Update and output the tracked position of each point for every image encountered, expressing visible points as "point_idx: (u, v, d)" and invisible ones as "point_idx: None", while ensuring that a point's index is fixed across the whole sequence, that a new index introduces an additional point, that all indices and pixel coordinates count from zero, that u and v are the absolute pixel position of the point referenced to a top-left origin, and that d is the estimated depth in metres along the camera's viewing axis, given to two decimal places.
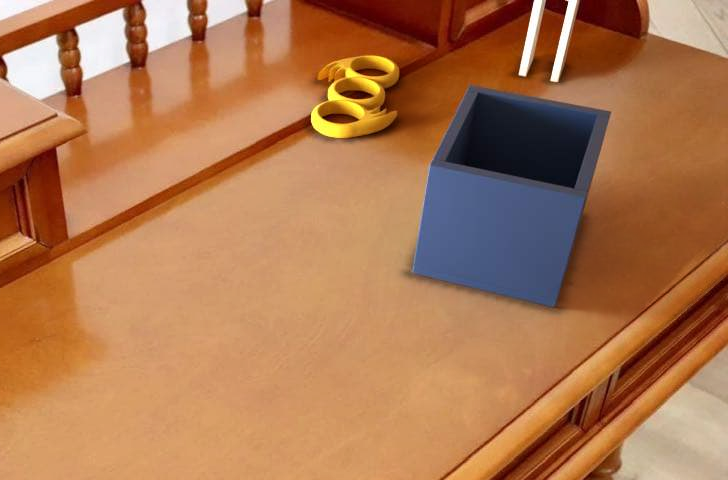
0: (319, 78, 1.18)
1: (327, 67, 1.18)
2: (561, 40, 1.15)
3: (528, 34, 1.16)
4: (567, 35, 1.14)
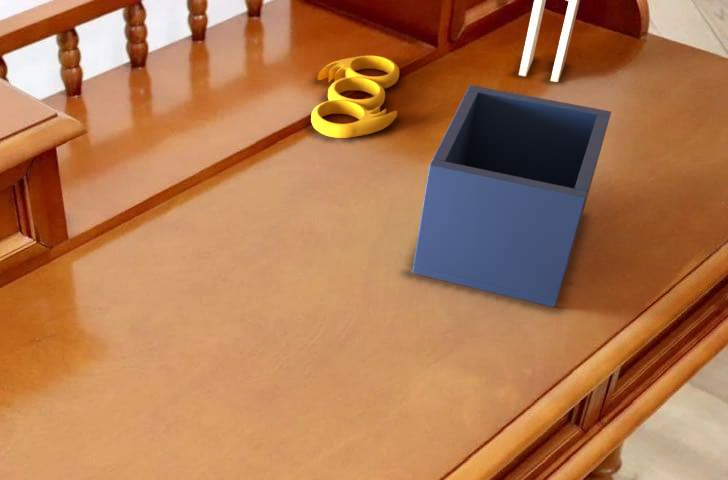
0: (319, 78, 1.18)
1: (327, 67, 1.18)
2: (561, 40, 1.15)
3: (528, 34, 1.16)
4: (567, 35, 1.14)
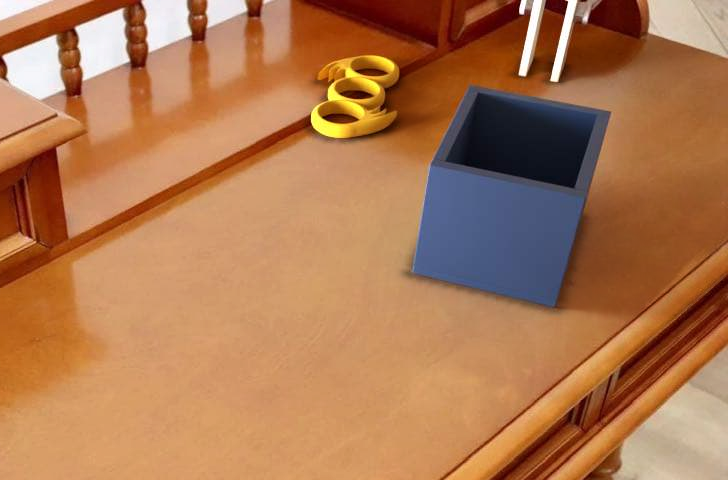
0: (319, 78, 1.18)
1: (327, 67, 1.18)
2: (561, 40, 1.15)
3: (528, 34, 1.16)
4: (567, 35, 1.14)
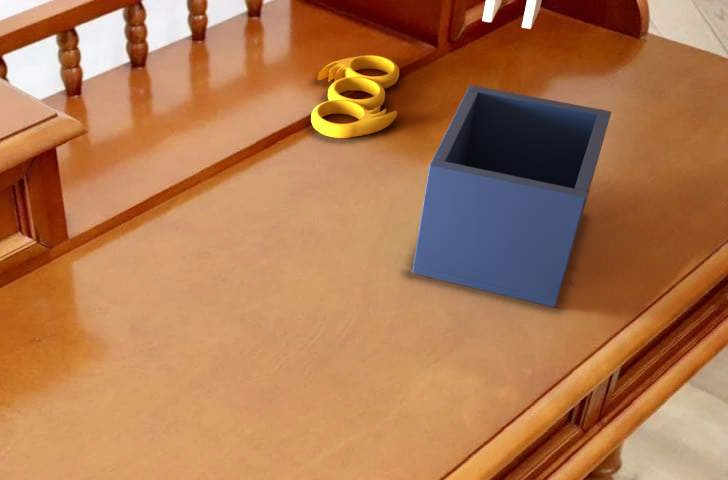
0: (319, 78, 1.18)
1: (327, 67, 1.18)
2: None
3: None
4: None
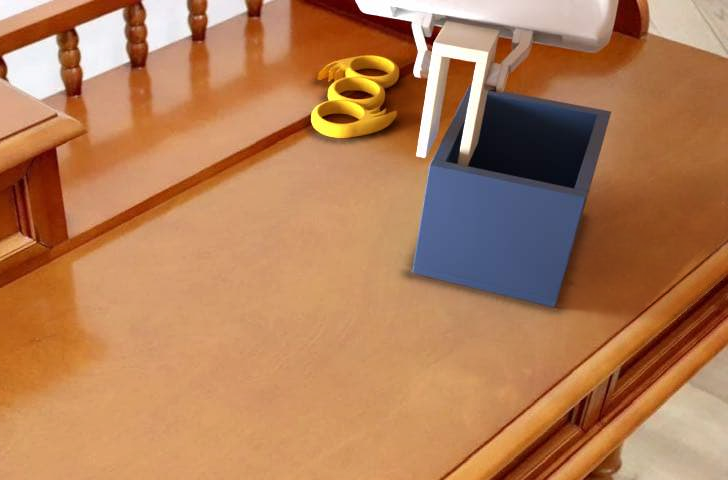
0: (319, 78, 1.18)
1: (327, 67, 1.18)
2: (469, 113, 0.85)
3: (425, 104, 0.86)
4: (476, 107, 0.85)
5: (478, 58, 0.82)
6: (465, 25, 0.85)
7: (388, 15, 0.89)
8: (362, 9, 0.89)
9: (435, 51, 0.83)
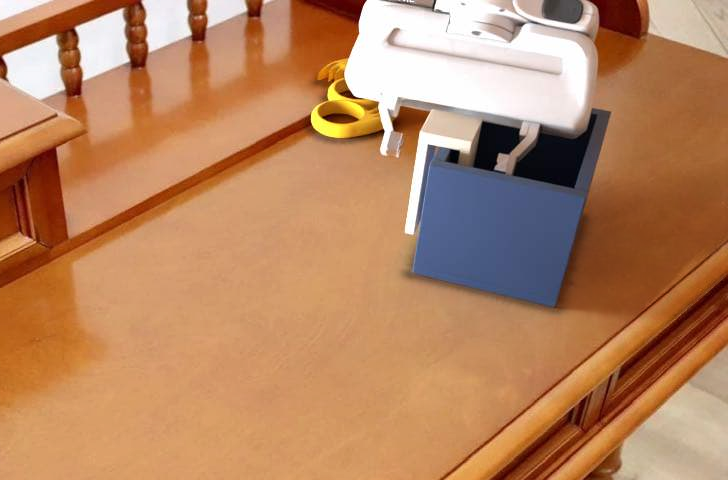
0: (319, 78, 1.18)
1: (327, 67, 1.18)
2: None
3: (413, 187, 0.91)
4: None
5: (462, 147, 0.87)
6: (450, 113, 0.90)
7: (379, 100, 0.94)
8: (354, 94, 0.94)
9: (421, 139, 0.88)
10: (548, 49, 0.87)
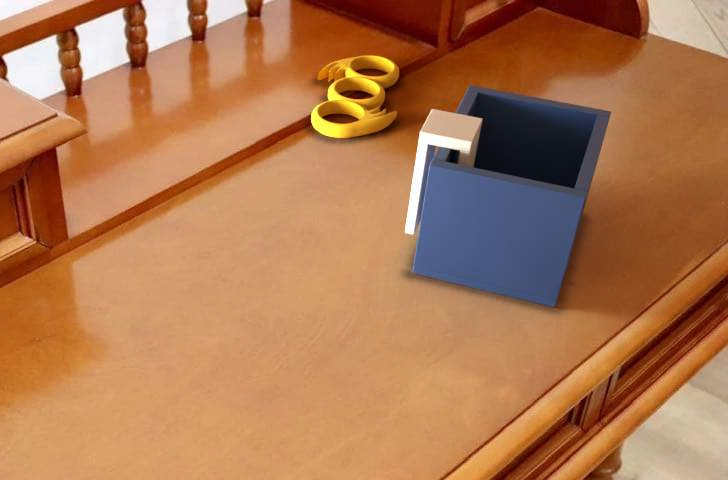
0: (319, 78, 1.18)
1: (327, 67, 1.18)
2: None
3: (413, 187, 0.91)
4: None
5: (462, 147, 0.87)
6: (450, 113, 0.90)
7: None
8: None
9: (421, 139, 0.88)
10: None
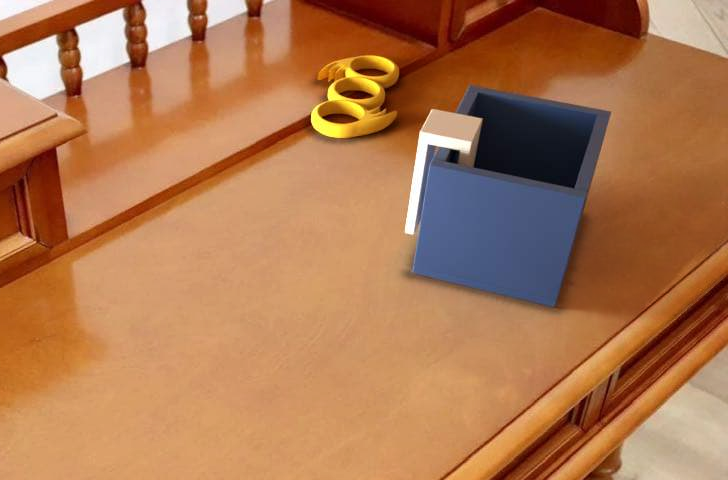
0: (319, 78, 1.18)
1: (327, 67, 1.18)
2: None
3: (413, 187, 0.91)
4: None
5: (462, 147, 0.87)
6: (450, 113, 0.90)
7: None
8: None
9: (421, 139, 0.88)
10: None
